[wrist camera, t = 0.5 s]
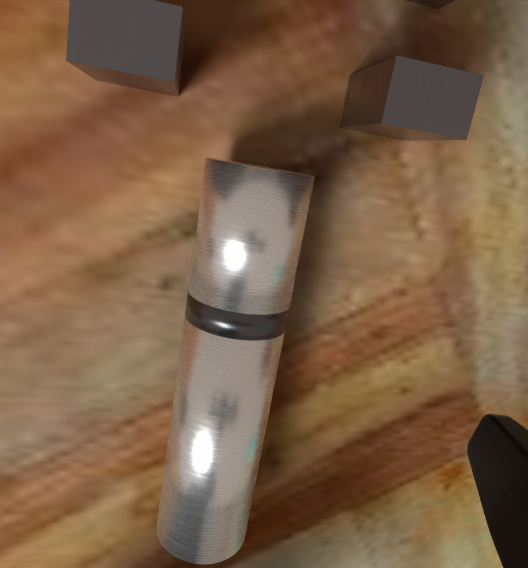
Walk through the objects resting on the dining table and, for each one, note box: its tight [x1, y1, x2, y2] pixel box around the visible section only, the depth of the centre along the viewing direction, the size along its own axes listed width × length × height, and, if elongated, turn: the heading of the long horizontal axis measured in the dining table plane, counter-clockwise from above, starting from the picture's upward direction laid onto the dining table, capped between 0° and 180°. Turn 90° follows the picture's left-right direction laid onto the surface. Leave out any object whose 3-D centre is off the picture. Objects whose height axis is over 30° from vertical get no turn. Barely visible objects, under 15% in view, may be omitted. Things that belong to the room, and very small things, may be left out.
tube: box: [157, 157, 315, 564], centre depth 20 cm, size 16×4×4 cm, turn 170°
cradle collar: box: [66, 0, 484, 141], centre depth 16 cm, size 2×12×4 cm, turn 80°
